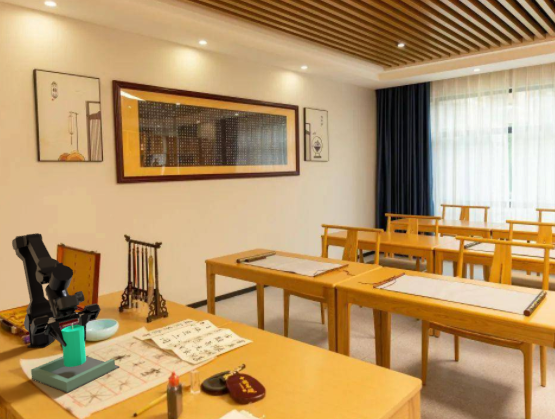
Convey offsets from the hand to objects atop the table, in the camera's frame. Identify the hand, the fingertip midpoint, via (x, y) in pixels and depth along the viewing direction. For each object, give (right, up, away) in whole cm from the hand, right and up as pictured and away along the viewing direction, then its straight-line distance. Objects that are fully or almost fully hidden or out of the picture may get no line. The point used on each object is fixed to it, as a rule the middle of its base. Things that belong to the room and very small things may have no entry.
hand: (75, 343), depth 126 cm
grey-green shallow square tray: (0, -10, +2) cm, 10 cm away
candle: (-1, -6, +2) cm, 7 cm away
